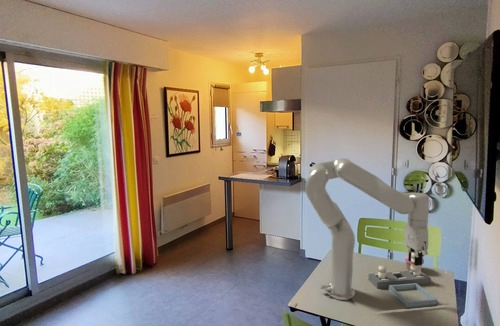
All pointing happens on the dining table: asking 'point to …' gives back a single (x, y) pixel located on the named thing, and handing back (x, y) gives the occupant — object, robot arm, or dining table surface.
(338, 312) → the dining table surface
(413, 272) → the right fuse
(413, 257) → the cylinder
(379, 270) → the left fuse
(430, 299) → the tray
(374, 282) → the fuse holder
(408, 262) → the cupcake
